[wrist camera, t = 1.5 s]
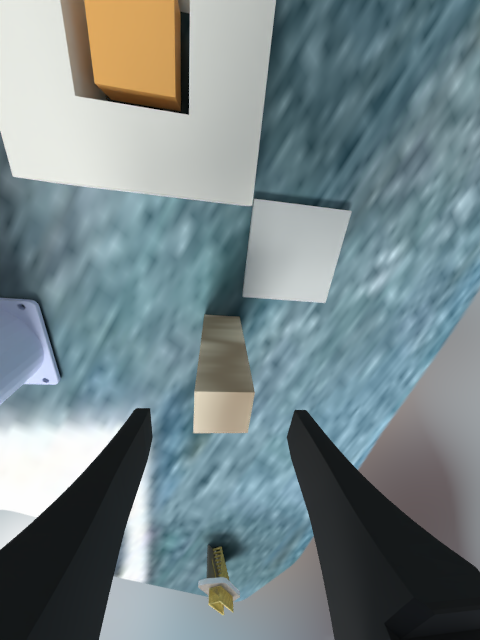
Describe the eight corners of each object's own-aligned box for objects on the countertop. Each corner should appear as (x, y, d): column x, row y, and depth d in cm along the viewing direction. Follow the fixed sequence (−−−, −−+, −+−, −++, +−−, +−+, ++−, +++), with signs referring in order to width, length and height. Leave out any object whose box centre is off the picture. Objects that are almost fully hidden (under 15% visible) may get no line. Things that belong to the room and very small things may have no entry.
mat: (242, 294, 19) (242, 297, 18) (253, 198, 16) (254, 198, 15) (322, 300, 20) (325, 302, 19) (348, 210, 17) (351, 211, 16)
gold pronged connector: (237, 516, 35) (241, 578, 29) (268, 560, 43) (275, 615, 37) (165, 536, 36) (155, 600, 30) (208, 575, 44) (207, 632, 38)
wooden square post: (203, 344, 21) (193, 433, 13) (204, 314, 19) (194, 391, 11) (236, 346, 21) (247, 433, 13) (239, 316, 20) (254, 392, 12)
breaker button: (111, 99, 12) (94, 83, 10) (100, -4, 10) (78, -42, 9) (180, 111, 12) (175, 97, 11) (180, 14, 11) (174, -19, 9)
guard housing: (57, 183, 14) (13, 176, 11) (-13, -159, 9) (-132, -347, 6) (245, 206, 16) (252, 205, 13) (275, -78, 11) (299, -196, 8)
